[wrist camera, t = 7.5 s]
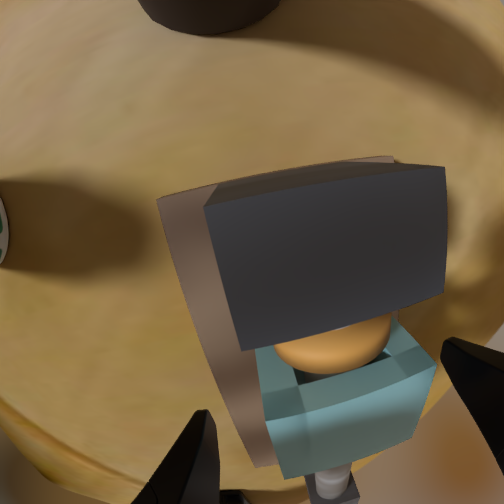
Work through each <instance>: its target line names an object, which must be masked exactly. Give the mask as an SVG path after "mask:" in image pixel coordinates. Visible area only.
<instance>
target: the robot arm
mask: <svg viewBox="0 0 504 504" xmlns="http://www.w3.org/2000/svg"><path fill="white" fill-rule="evenodd" d="M440 359H441V362H442V364H443V366H444V368H445V370H446V372H447V374H448V376H449V378H450V380H451V382H452V384H453V386H454V387H455V389H456V391H457V392H458V394H459V396H460V397H461V399H462V401H463V402H464V404H465V405H466V407H467V409H468V410H469V412H470V414H471V415H472V417H473V419H474V420H475V422H476V424H477V425H478V427H479V429H480V431H481V432H482V434H483V436H484V438H485V440H486V442H487V443H488V445H489V447H490V449H491V451H492V453H493V455H494V457H495V458H496V461H497V463H498V465H499V467H500V469H501V471H502V473H503V475H504V353H502V352H499V351H496V350H493V349H490V348H487V347H484V346H480V345H477V344H474V343H471V342H468V341H465V340H462V339H459V338H456V337H450V338H448V339H446V340H445V341H444V342H443V346H442V350H441V354H440ZM219 489H220V459H219V449H218V440H217V430H216V424H215V422H214V420H213V418H212V416H211V414H210V412H209V411H208V410H207V409H204V410H197V411H196V412H195V413H194V414H193V416H192V417H191V419H190V420H189V422H188V424H187V425H186V427H185V428H184V430H183V431H182V433H181V434H180V436H179V437H178V439H177V440H176V442H175V443H174V445H173V446H172V448H171V449H170V450H169V452H168V453H167V455H166V456H165V458H164V459H163V461H162V462H161V464H160V465H159V466H158V468H157V469H156V471H155V472H154V474H153V475H152V477H151V478H150V479H149V482H147V483H146V485H145V486H144V488H143V489H142V490H141V492H140V493H139V494H138V495H137V497H136V498H135V499H134V500H133V501H132V503H131V504H251V503H250V502H249V501H248V500H247V498H246V497H245V496H244V495H243V493H242V492H241V491H226V492H219Z"/></svg>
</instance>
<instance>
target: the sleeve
mask: <svg viewBox="0 0 504 504" xmlns="http://www.w3.org/2000/svg"><path fill="white" fill-rule="evenodd" d="M255 355H256V362H257V369H258V376H259V383H260V390H261V396H262V403H263V410H264V417H265V423H266V426H267V429H268V432H269V435H270V438H271V441H272V444H273V447H274V450H275V453H276V456H277V459H278V462H279V465H280V468H281V471H282V474H283V477H284V480H285V479H290V478H295V477H299V476H304V475H308V474H312V473H316V472H320V471H324V470H327V469H331V468H334V467H338V466H341V465H344V464H347V463H350V462H353V461H356V460H359V459H362V458H365V457H367V456H370V455H373V454H375V453H378V452H380V451H383V450H385V449H388V448H390V447H392V446H395V445H397V444H399V443H401V442H404V441H405V440H408V439H410V438H411V437H412V435H413V433H414V431H415V428H416V425H417V423H418V421H419V418H420V416H421V413H422V410H423V407H424V405H425V402H426V399H427V396H428V393H429V390H430V387H431V383H432V380H433V377H434V373H435V370H436V366H437V364H436V362H435V361H434V360H433V359H432V358H431V357H430V356H429V355H428V353H427V352H426V351H425V350H424V349H423V348H422V347H421V346H420V345H419V344H418V343H417V341H416V340H415V339H414V338H413V337H412V336H411V335H410V334H409V333H408V332H407V331H406V330H405V329H404V328H403V326H402V325H401V324H400V323H399V322H398V321H397V320H396V319H395V318H394V317H393V316H391V330H390V338H389V341H388V344H387V345H386V347H385V349H384V350H383V351H382V352H381V353H380V354H379V355H378V356H377V357H376V358H375V359H373V360H372V361H370V362H369V363H367V364H365V365H363V367H361V368H358V369H355V370H352V371H349V372H346V373H342V374H339V375H336V376H332V377H329V378H325V379H322V380H318V381H314V382H311V383H307V384H305V377H304V371H301V370H299V369H296V368H294V367H292V366H290V365H288V364H286V363H285V362H284V361H283V360H281V358H280V357H279V356H278V355H277V353H276V352H275V349H274V346H273V345H271V346H267V347H262V348H257V349H255Z"/></svg>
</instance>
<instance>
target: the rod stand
mask: <svg viewBox="0 0 504 504" xmlns="http://www.w3.org/2000/svg"><path fill="white" fill-rule="evenodd" d="M156 201H157V205H158V208H159V212H160V216H161V220H162V224H163V227H164V231H165V235H166V238H167V242H168V245H169V249H170V252H171V255H172V259H173V262H174V265H175V269H176V272H177V275H178V278H179V281H180V285H181V288H182V291H183V294H184V297H185V300H186V303H187V306H188V309H189V312H190V315H191V317H192V320H193V323H194V326H195V329H196V331H197V334H198V337H199V340H200V342H201V345H202V348H203V350H204V353H205V356H206V358H207V361H208V363H209V366H210V368H211V371H212V373H213V376H214V378H215V381H216V383H217V386H218V388H219V390H220V393H221V395H222V398H223V400H224V402H225V405H226V407H227V409H228V411H229V414H230V416H231V418H232V420H233V423H234V425H235V427H236V429H237V431H238V433H239V436H240V438H241V440H242V442H243V444H244V446H245V448H246V450H247V452H248V454H249V456H250V458H251V460H252V462H253V464H254V466H255V468H258V467H264V466H271V465H276V464H279V462H278V459H277V456H276V453H275V450H274V447H273V444H272V441H271V438H270V435H269V432H268V429H267V426H266V423H265V417H264V410H263V403H262V396H261V390H260V383H259V376H258V369H257V362H256V355H255V349H257V348H262V347H267V346H271V345H273V346H274V349H275V352H276V353H277V355H278V356H279V357H280V358H281V360H283V361H284V362H285V363H286V364H288V365H290V366H292V367H294V368H296V369H299V370H301V371H304V377H305V384H307V383H311V382H314V381H318V380H322V379H325V378H329V377H332V376H336V375H339V374H342V373H346V372H349V371H352V370H355V369H358V368H361V367H363V365H365V364H367V363H369V362H370V361H372V360H373V359H375V358H376V357H377V356H378V355H379V354H380V353H381V352H382V351H383V350H384V349H385V347H386V345H387V344H388V341H389V338H390V330H391V316H393V317H394V318H395V319H396V320H397V321H398V317H399V309H402V308H404V307H407V306H410V305H413V304H415V303H418V302H421V301H423V300H426V299H428V298H431V297H434V296H436V295H439V294H441V293H443V292H444V283H445V272H446V257H447V190H446V176H445V167H441V166H431V165H419V164H404V163H394V158H393V156H375V157H366V158H358V159H350V160H342V161H335V162H328V163H321V164H314V165H308V166H302V167H296V168H290V169H284V170H279V171H273V172H268V173H263V174H258V175H253V176H248V177H243V178H238V179H233V180H229V181H224V182H220V183H215V184H211V185H207V186H203V187H198V188H194V189H190V190H186V191H182V192H178V193H175V194H171V195H167V196H163V197H161V198H159V199H157V200H156ZM351 465H352V462H350V463H347V464H344V465H341V466H338V467H334V468H331V469H327V470H324V471H320V472H316V473H312V474H308V475H304V477H305V482H306V486H307V490H308V494H309V498H310V502H311V504H358V501H359V499H360V495H359V492H358V489H357V487H356V484H355V481H354V479H353V476H352V473H351Z"/></svg>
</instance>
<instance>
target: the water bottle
mask: <svg viewBox="0 0 504 504" xmlns="http://www.w3.org/2000/svg"><path fill="white" fill-rule="evenodd" d="M138 1H139V3H140V5H141V6H142V8H143V9H144V11H145V12H146V13H147V14H148V15H149V16H150V18H151V19H152V20H153V21H155V22H157V23H159V24H161V25H163V26H165V27H167V28H169V29H171V30H174V31H180V32H185V33H190V34H218V33H222V32H227V31H232V30H236V29H241V28H243V27H246V26H248V25H250V24H252V23H255V22H257V21H259V20H261V19H263V18H264V17H265V16H266V15H267V14H269V13H270V12H271V11H272V10H274V9H275V8H276V7H277V6H278V4H279V3H280V1H281V0H138Z"/></svg>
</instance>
